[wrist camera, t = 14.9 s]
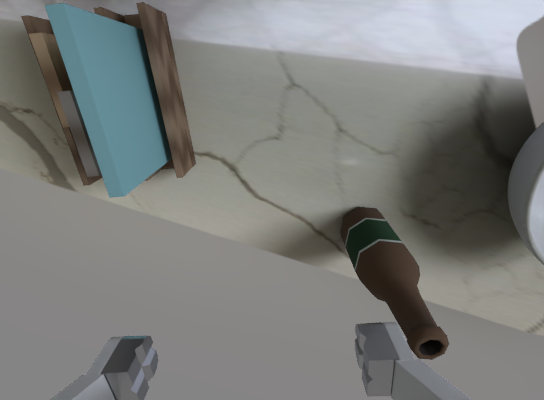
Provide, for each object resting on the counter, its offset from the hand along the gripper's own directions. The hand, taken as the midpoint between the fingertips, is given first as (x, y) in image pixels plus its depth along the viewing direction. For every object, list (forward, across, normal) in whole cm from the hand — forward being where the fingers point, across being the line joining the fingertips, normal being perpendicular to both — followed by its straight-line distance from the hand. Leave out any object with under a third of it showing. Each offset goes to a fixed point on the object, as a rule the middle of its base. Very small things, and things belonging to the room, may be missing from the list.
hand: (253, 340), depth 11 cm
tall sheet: (+34, +15, -8) cm, 38 cm away
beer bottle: (+35, -14, +15) cm, 41 cm away
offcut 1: (+34, +24, -11) cm, 43 cm away
